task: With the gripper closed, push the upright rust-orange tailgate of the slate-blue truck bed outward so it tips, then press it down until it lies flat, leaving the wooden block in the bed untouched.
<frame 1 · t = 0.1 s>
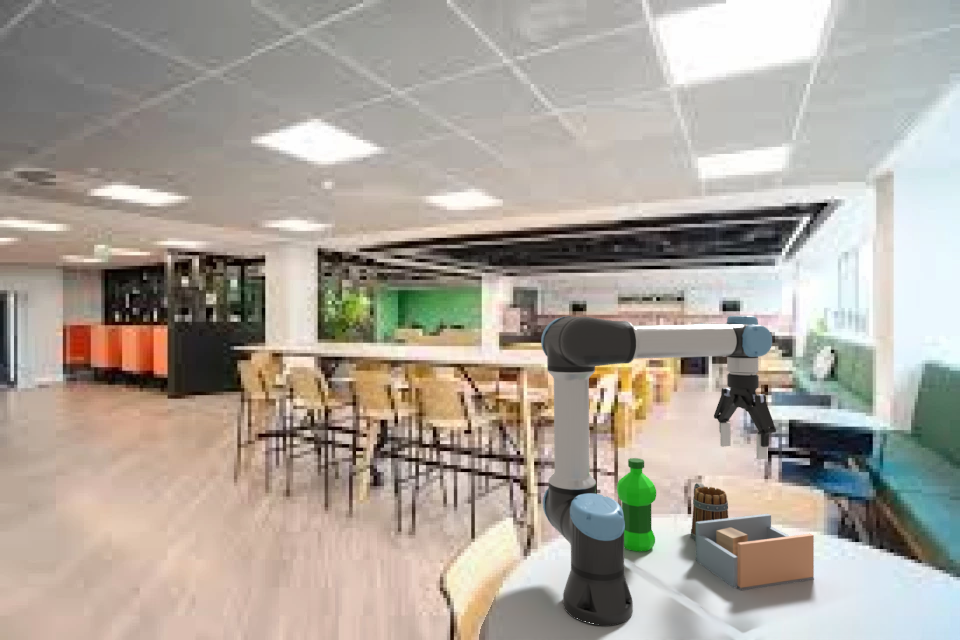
hand: (742, 452, 142), 28 cm above the table, fingers open, 13 cm apart
wooden block: (731, 568, 132), point 1 cm above the table, touching truck bed
tailgate: (776, 562, 125), point 6 cm above the table, hinge at 0.0°
truck bed: (751, 573, 133), on the table
mug: (706, 540, 152), on the table
plastic bottle: (636, 551, 146), on the table
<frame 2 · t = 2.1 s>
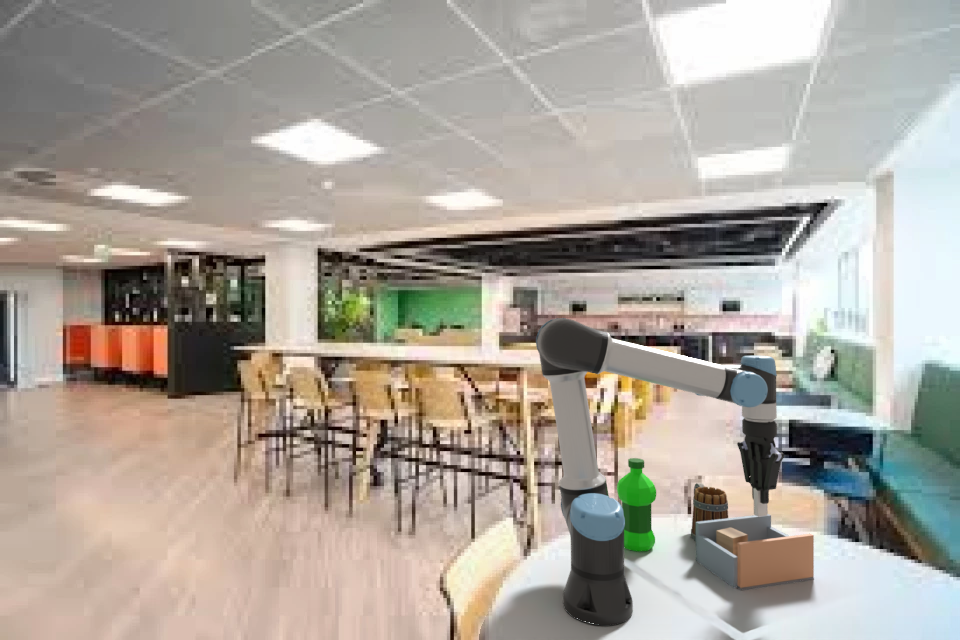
hand: (760, 514, 130), 16 cm above the table, fingers closed
nothing on the table moved.
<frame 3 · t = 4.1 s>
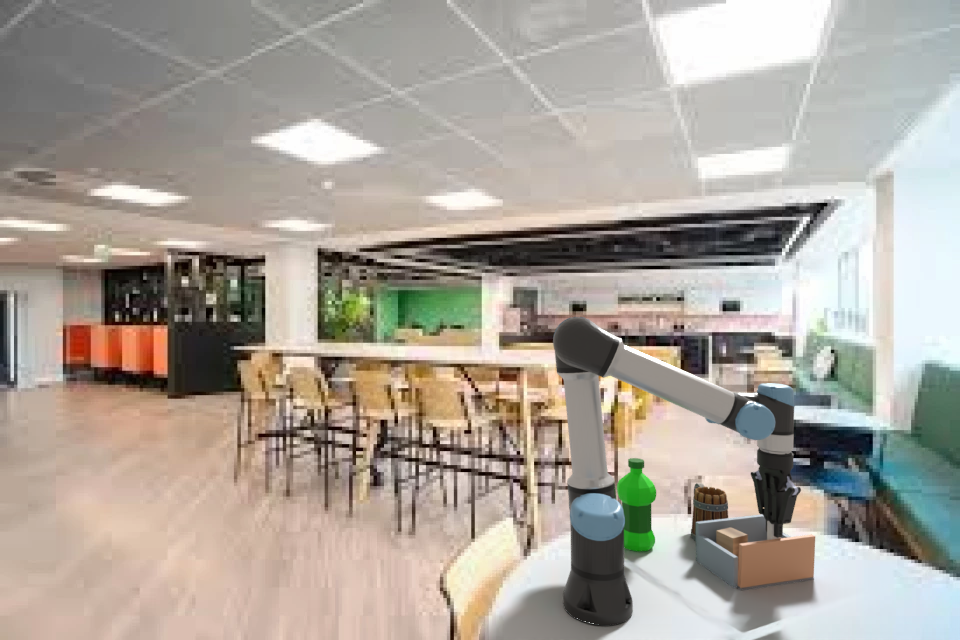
hand: (773, 548, 126), 9 cm above the table, fingers closed
tailgate: (776, 562, 125), point 6 cm above the table, hinge at 2.8°, touching gripper
everything else where it was.
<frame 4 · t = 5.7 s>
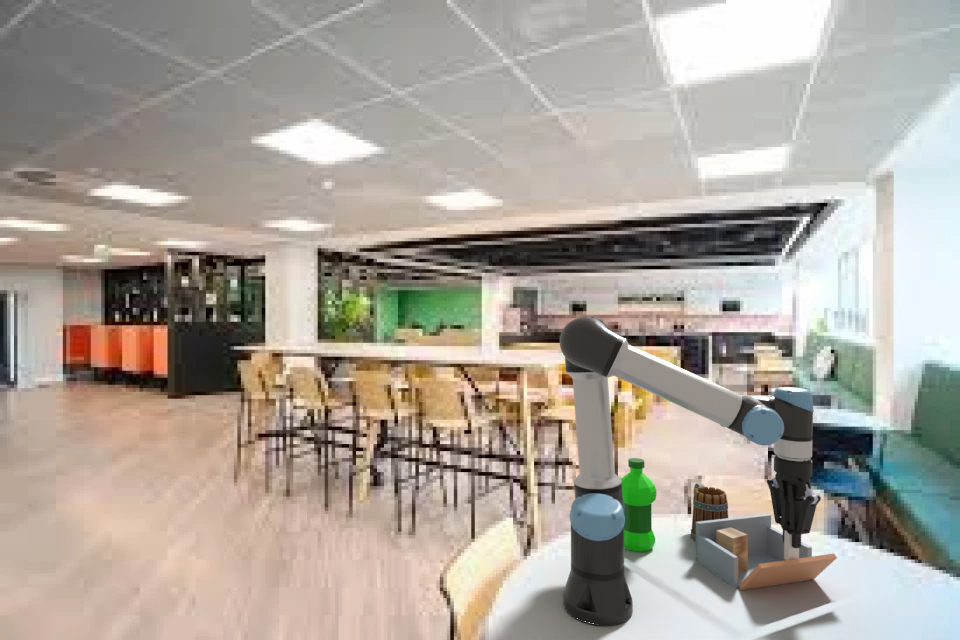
hand: (791, 559, 120), 9 cm above the table, fingers closed
tailgate: (786, 572, 122), point 5 cm above the table, hinge at 38.0°, touching gripper
everything else where it was.
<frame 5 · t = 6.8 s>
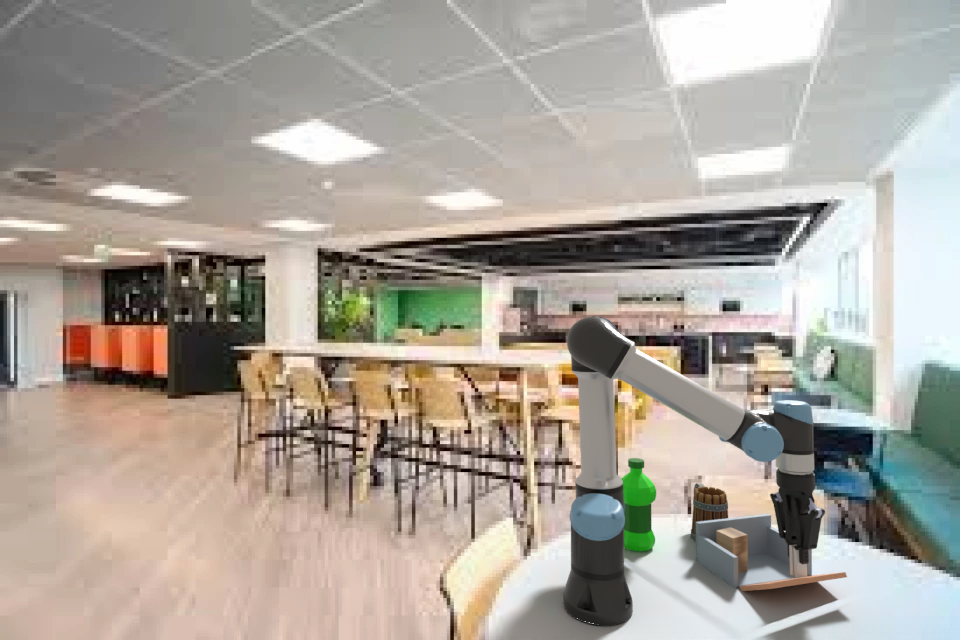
hand: (798, 575, 119), 6 cm above the table, fingers closed
tailgate: (790, 581, 121), point 4 cm above the table, hinge at 60.6°, touching gripper
everything else where it was.
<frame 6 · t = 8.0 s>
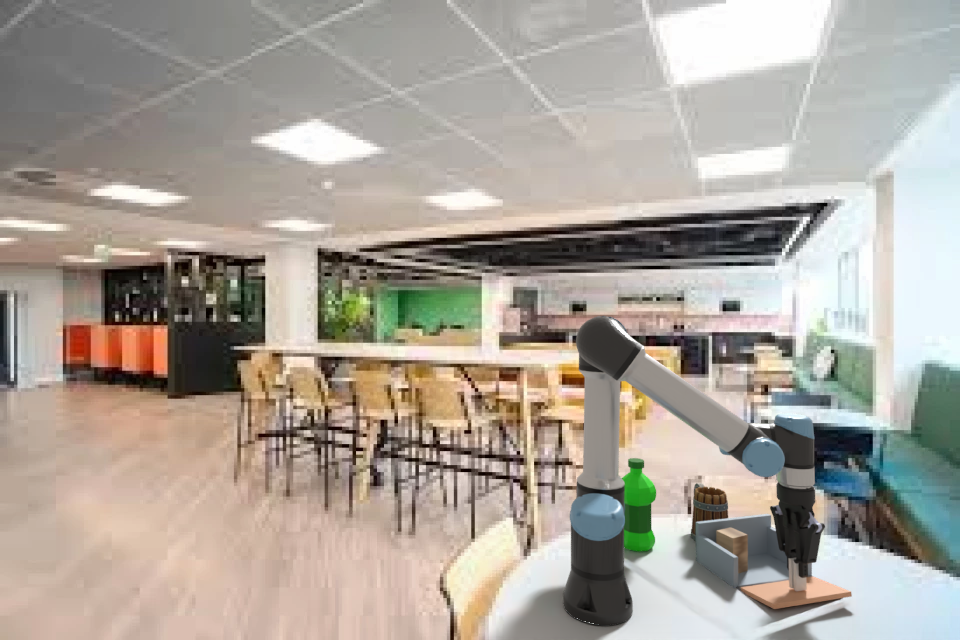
hand: (797, 588, 119), 3 cm above the table, fingers closed
tailgate: (793, 590, 120), point 2 cm above the table, hinge at 82.0°, touching gripper
everything else where it was.
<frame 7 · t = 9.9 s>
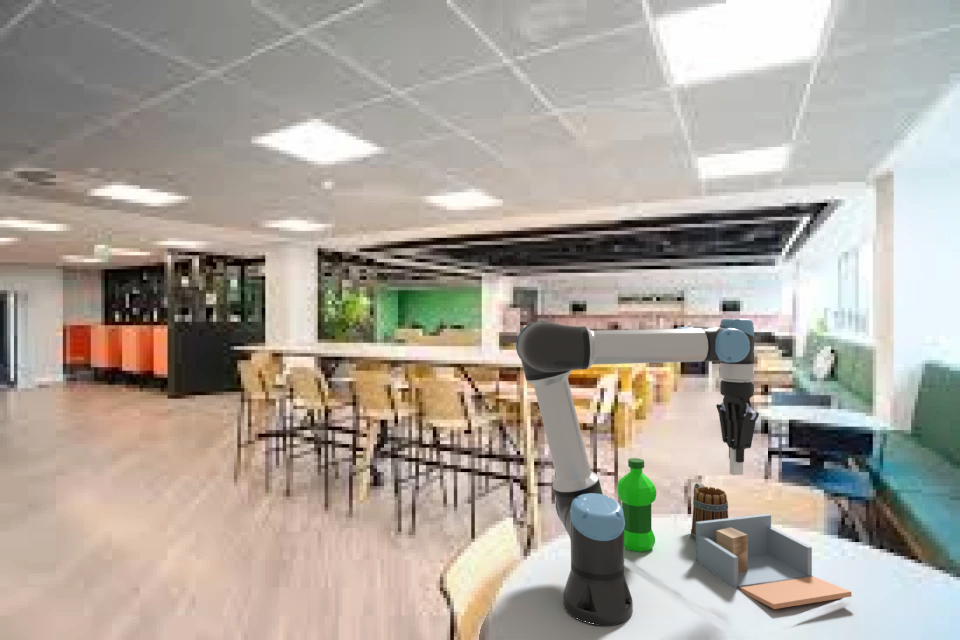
hand: (736, 473, 133), 25 cm above the table, fingers closed
tailgate: (793, 590, 120), point 2 cm above the table, hinge at 82.0°
everything else where it was.
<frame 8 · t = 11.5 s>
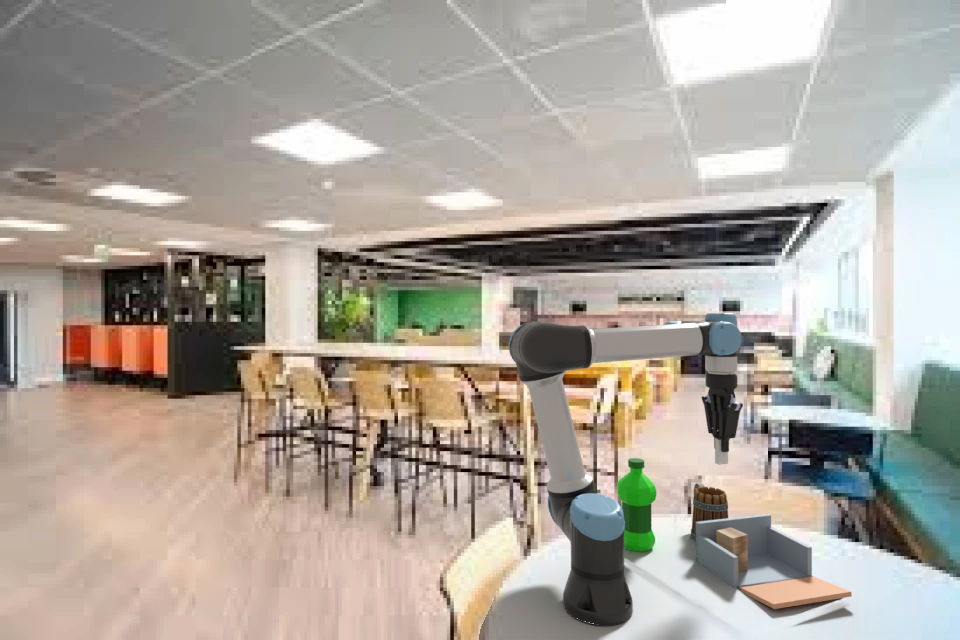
hand: (721, 463, 137), 26 cm above the table, fingers closed
nothing on the table moved.
at the end: tailgate at +82° (first picture: +0°); wooden block moved 0.0 cm from its start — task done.
